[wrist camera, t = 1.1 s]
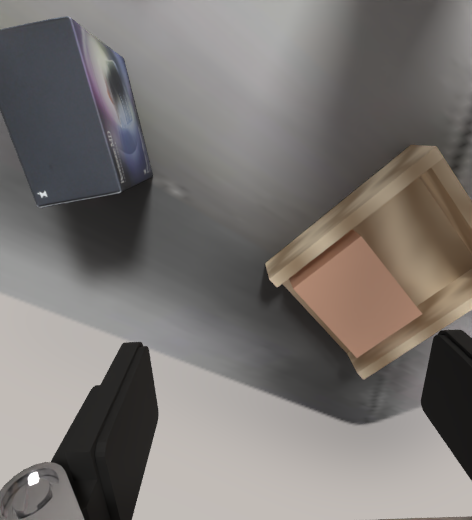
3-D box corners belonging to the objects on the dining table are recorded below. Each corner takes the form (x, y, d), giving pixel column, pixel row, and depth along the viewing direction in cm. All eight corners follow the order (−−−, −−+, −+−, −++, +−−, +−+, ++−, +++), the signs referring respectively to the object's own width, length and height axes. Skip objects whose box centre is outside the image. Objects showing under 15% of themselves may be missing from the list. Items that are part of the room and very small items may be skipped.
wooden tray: (410, 144, 31) (436, 146, 27) (488, 262, 36) (520, 277, 32) (265, 263, 35) (269, 279, 31) (350, 355, 40) (363, 379, 36)
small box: (158, 177, 32) (125, 196, 22) (94, 189, 33) (34, 212, 23) (127, 54, 28) (71, 11, 19) (55, 69, 29) (-37, 34, 19)
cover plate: (350, 227, 33) (361, 236, 30) (407, 300, 36) (422, 314, 33) (288, 276, 35) (293, 288, 32) (347, 341, 38) (356, 358, 35)
